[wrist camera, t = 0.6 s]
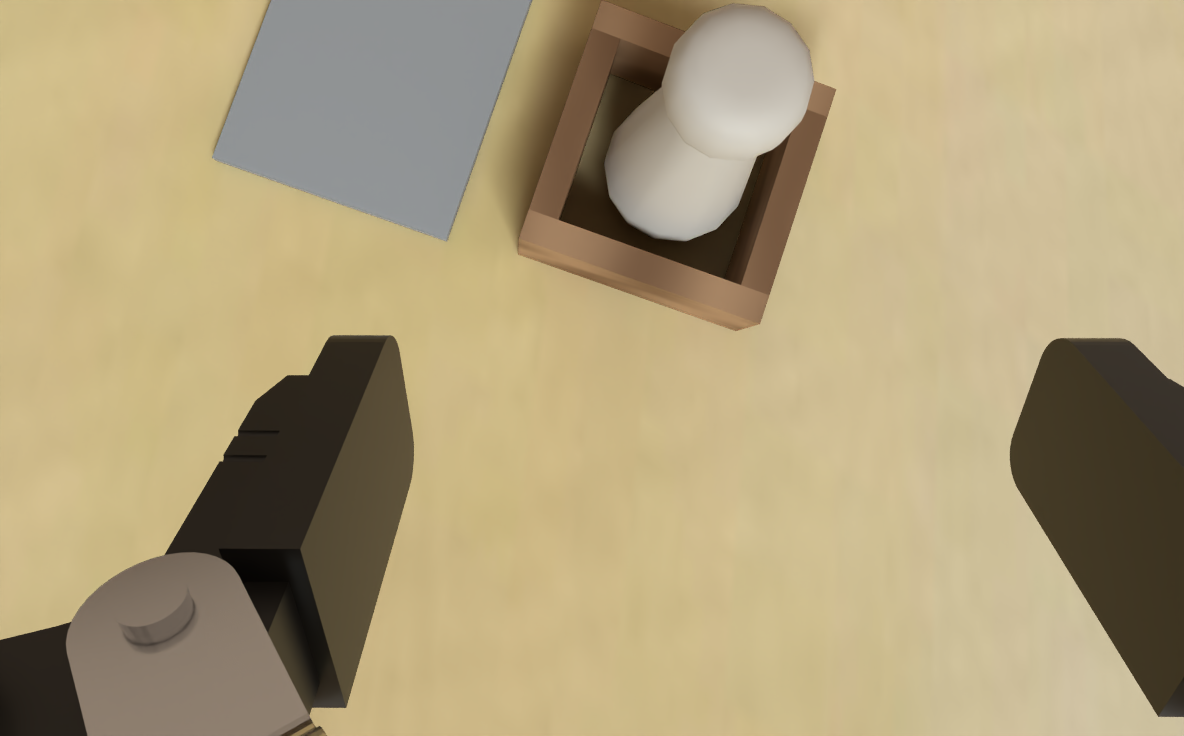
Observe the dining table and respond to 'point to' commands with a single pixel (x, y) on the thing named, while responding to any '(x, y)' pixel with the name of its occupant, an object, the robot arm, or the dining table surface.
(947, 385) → the dining table surface
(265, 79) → the rubber mat
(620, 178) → the salt shaker
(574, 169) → the pocket block
